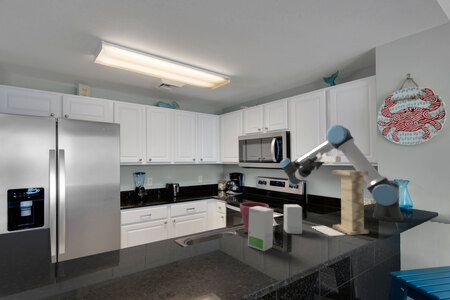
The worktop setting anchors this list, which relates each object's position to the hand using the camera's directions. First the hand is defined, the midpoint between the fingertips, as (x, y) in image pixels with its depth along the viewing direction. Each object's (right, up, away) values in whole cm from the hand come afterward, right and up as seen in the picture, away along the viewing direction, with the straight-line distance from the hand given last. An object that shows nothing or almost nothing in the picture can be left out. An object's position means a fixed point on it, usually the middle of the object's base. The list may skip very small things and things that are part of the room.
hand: (323, 154), depth 140 cm
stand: (+5, -38, -20) cm, 43 cm away
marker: (0, -4, -1) cm, 4 cm away
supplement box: (-24, -38, -22) cm, 50 cm away
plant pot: (-43, -38, -21) cm, 61 cm away
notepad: (-7, -38, -21) cm, 44 cm away
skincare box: (-43, -37, -43) cm, 71 cm away
